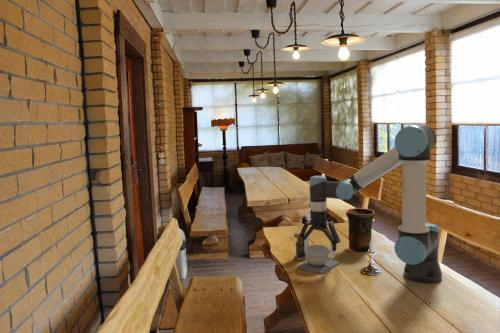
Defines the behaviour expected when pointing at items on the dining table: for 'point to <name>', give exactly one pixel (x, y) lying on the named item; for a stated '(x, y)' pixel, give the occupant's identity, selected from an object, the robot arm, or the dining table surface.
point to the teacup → (317, 254)
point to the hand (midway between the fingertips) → (319, 255)
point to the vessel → (359, 229)
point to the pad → (319, 269)
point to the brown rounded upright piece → (299, 248)
